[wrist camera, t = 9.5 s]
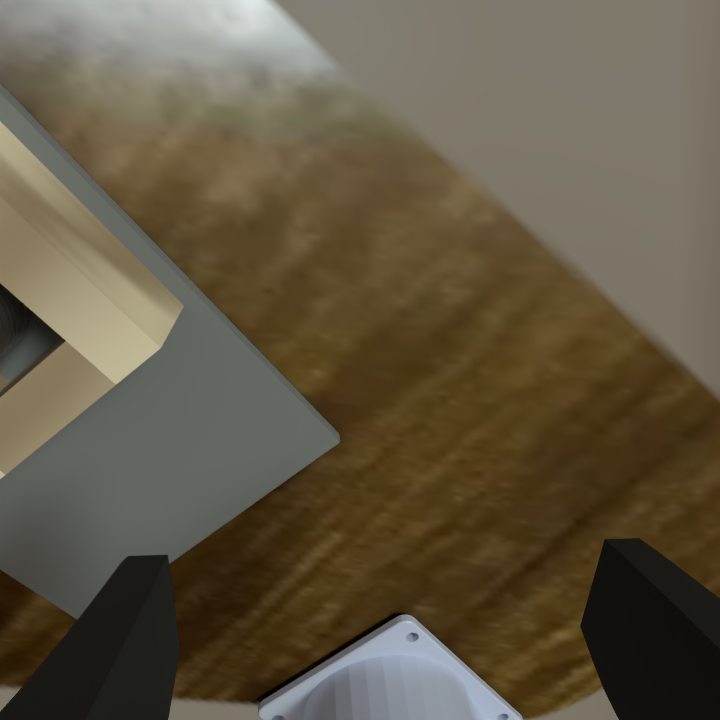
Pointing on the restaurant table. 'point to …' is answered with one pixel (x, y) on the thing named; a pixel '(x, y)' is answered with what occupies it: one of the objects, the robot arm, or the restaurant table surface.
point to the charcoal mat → (146, 430)
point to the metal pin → (14, 320)
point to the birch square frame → (68, 303)
